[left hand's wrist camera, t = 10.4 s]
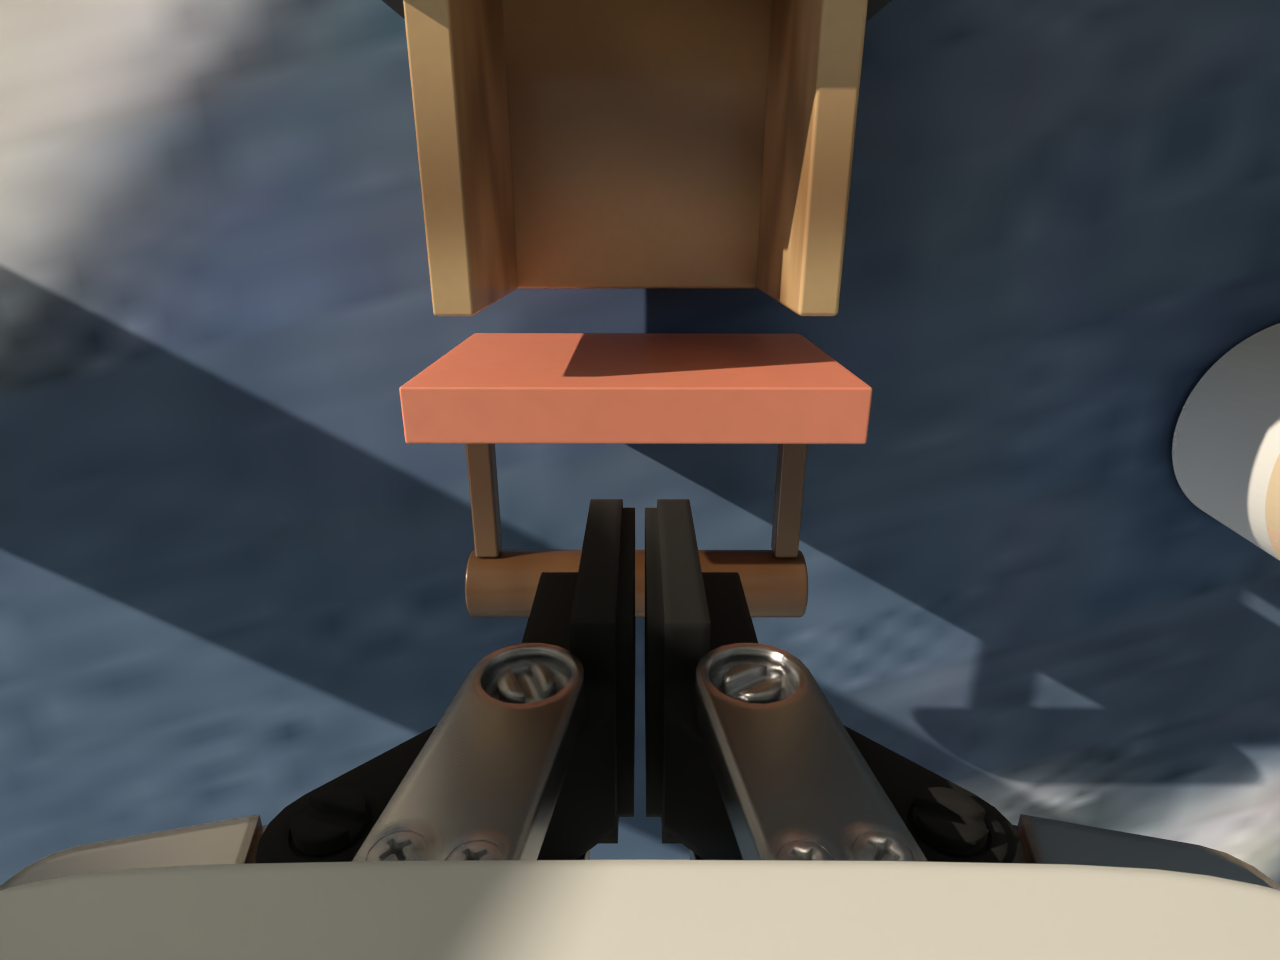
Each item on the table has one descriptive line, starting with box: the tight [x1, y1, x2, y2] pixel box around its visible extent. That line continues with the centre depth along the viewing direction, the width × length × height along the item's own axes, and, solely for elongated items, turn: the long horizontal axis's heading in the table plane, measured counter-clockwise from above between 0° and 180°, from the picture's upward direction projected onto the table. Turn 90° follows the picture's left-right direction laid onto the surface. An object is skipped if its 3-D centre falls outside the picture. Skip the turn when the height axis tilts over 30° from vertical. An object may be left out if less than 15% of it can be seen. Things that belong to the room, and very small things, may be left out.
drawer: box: [399, 0, 872, 617], centre depth 16 cm, size 25×10×7 cm, turn 0°
